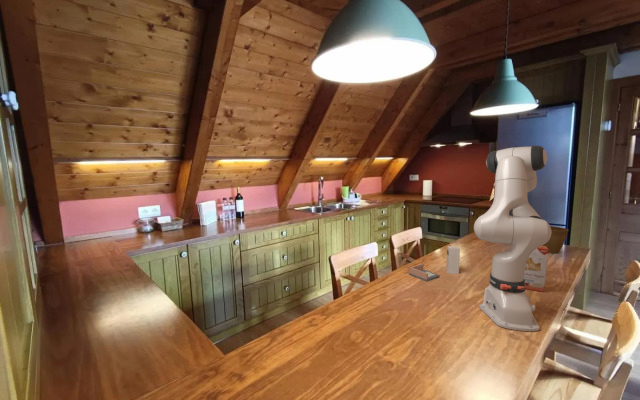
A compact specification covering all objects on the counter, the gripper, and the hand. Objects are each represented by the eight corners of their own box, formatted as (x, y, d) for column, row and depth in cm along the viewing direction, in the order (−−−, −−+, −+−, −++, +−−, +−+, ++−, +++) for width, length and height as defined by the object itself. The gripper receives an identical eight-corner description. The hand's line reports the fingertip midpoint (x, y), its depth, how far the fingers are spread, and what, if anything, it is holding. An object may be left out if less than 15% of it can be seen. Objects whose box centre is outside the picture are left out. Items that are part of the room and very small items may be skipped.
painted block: (458, 274, 160) (460, 248, 158) (447, 273, 161) (448, 248, 159) (456, 271, 164) (458, 246, 162) (445, 270, 166) (447, 246, 164)
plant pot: (571, 254, 191) (574, 229, 189) (553, 256, 188) (555, 231, 186) (549, 247, 205) (551, 225, 203) (531, 249, 202) (533, 226, 200)
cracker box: (508, 287, 143) (512, 244, 141) (507, 282, 149) (511, 241, 146) (544, 292, 137) (549, 248, 134) (542, 287, 142) (546, 245, 139)
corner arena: (439, 277, 156) (439, 269, 156) (426, 281, 151) (426, 274, 150) (421, 270, 166) (422, 263, 165) (408, 274, 160) (409, 267, 160)
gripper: (500, 224, 164) (473, 223, 167) (516, 233, 144) (485, 232, 147) (499, 235, 165) (472, 234, 168) (515, 246, 145) (484, 244, 148)
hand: (478, 233), depth 157 cm, fingers open, 8 cm apart
